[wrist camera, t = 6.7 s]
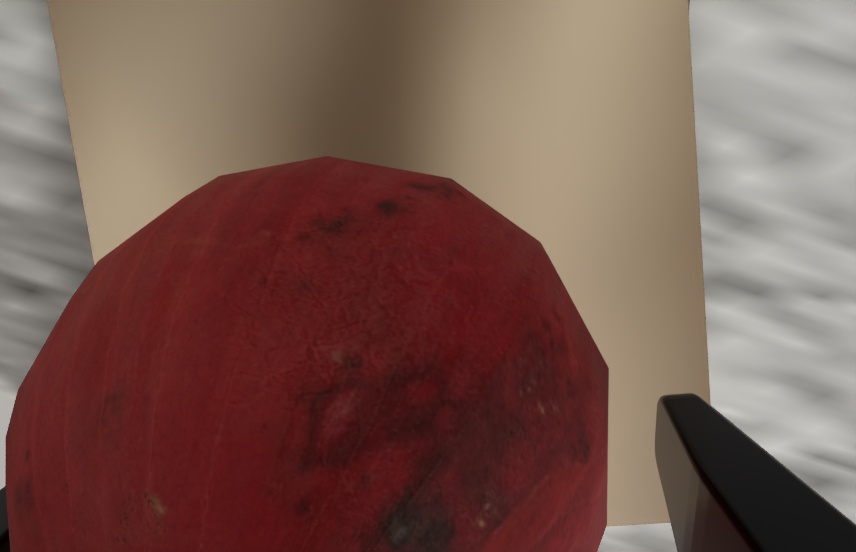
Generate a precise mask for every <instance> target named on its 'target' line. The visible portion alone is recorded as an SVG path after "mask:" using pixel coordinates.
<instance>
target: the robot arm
mask: <svg viewBox="0 0 856 552" xmlns="http://www.w3.org/2000/svg"><path fill="white" fill-rule="evenodd" d="M655 457H656V463H657V468H658V472H659V476H660V480H661V484H662V489H663V493H664V497H665V501H666V505H667V509H668V514H669V518H670V522H671V526H672V530H673V534H674V539H675V543H676V547H677V551H678V552H856V524H854V523H853V522H852V521H851V520H850V519H848V518H847V517H846V516H845V515H843V514H842V513H841V512H840V511H839V510H837V509H836V508H835V507H834V506H833V505H831V504H830V503H829V502H828V501H826V500H825V499H824V498H823V497H822V496H820V495H819V494H818V493H817V492H815V491H814V490H813V489H812V488H811V487H809V486H808V485H807V484H806V483H804V482H803V481H802V480H801V479H800V478H798V477H797V476H796V475H795V474H794V473H792V472H791V471H790V470H789V469H787V468H786V467H785V466H784V465H783V464H781V463H780V462H779V461H778V460H776V459H775V458H774V457H773V456H772V455H770V454H769V453H768V452H767V451H766V450H764V449H763V448H762V447H761V446H759V445H758V444H757V443H756V442H755V441H753V440H752V439H751V438H750V437H748V436H747V435H746V434H745V433H744V432H742V431H741V430H740V429H739V428H737V427H736V426H735V425H734V424H733V423H731V422H730V421H729V420H728V419H727V418H725V417H724V416H723V415H722V414H720V413H719V412H718V411H717V410H716V409H714V408H713V407H712V406H711V405H709V404H708V403H707V402H706V401H705V400H703V399H702V398H701V397H700V396H698V395H696V394H693V393H684V394H671V395H663V396H661V397H660V398H659V400H658V403H657V412H656V429H655ZM0 552H10V539H9V526H8V512H7V499H6V486H5V487H4V488H2V489H1V490H0Z"/></svg>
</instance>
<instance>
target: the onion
mask: <svg viewBox="0 0 856 552" xmlns="http://www.w3.org/2000/svg"><path fill="white" fill-rule="evenodd" d="M608 398H609V368H608V366H607V364H606V362H605V360H604V358H603V357H602V355H601V353H600V351H599V349H598V347H597V345H596V344H595V342H594V340H593V338H592V336H591V334H590V332H589V331H588V329H587V327H586V325H585V323H584V321H583V319H582V317H581V316H580V314H579V312H578V310H577V308H576V306H575V304H574V303H573V301H572V299H571V297H570V295H569V293H568V291H567V290H566V288H565V286H564V284H563V282H562V280H561V278H560V277H559V275H558V273H557V271H556V269H555V267H554V265H553V264H552V262H551V260H550V258H549V256H548V254H547V253H546V251H545V249H544V247H543V246H542V244H541V242H540V241H538V240H537V239H535V238H534V237H533V236H531V235H530V234H528V233H527V232H526V231H524V230H523V229H521V228H520V227H519V226H517V225H516V224H514V223H513V222H512V221H510V220H509V219H507V218H506V217H505V216H503V215H502V214H500V213H499V212H498V211H496V210H495V209H493V208H492V207H491V206H489V205H488V204H486V203H485V202H484V201H482V200H481V199H479V198H478V197H477V196H475V195H474V194H472V193H471V192H470V191H468V190H467V189H465V188H464V187H463V186H461V185H460V184H458V183H457V182H456V181H454V180H453V179H451V178H446V177H441V176H435V175H430V174H424V173H419V172H413V171H408V170H402V169H396V168H391V167H385V166H380V165H374V164H369V163H363V162H358V161H352V160H346V159H341V158H335V157H330V156H324V157H318V158H313V159H308V160H302V161H297V162H291V163H286V164H280V165H275V166H270V167H264V168H259V169H253V170H248V171H242V172H237V173H232V174H226V175H221V176H218V177H216V178H215V179H213V180H212V181H210V182H208V183H207V184H205V185H203V186H202V187H200V188H198V189H197V190H195V191H193V192H192V193H190V194H188V195H187V196H185V197H183V198H182V199H181V200H179V201H178V202H177V203H175V204H174V205H173V206H171V207H170V208H169V209H167V210H166V211H165V212H163V213H162V214H161V215H159V216H158V217H157V218H155V219H154V220H152V221H151V222H150V223H148V224H147V225H146V226H144V227H143V228H142V229H140V230H139V231H138V232H136V233H135V234H134V235H132V236H131V237H130V238H128V239H127V240H126V241H124V242H123V243H122V244H120V245H119V246H118V247H116V248H115V249H114V250H112V251H111V252H109V253H108V254H107V255H105V256H104V257H103V258H101V259H100V260H99V261H98V262H97V263H96V265H95V266H94V267H93V269H92V270H91V271H90V273H89V274H88V276H87V277H86V278H85V280H84V281H83V283H82V284H81V285H80V287H79V288H78V290H77V291H76V292H75V294H74V295H73V297H72V298H71V299H70V301H69V303H68V304H67V306H66V308H65V309H64V311H63V313H62V315H61V316H60V318H59V320H58V322H57V323H56V325H55V327H54V329H53V330H52V332H51V334H50V336H49V337H48V339H47V341H46V343H45V344H44V346H43V348H42V349H41V351H40V353H39V355H38V356H37V358H36V360H35V362H34V363H33V365H32V367H31V369H30V370H29V372H28V374H27V376H26V377H25V379H24V381H23V382H22V384H21V386H20V388H19V389H18V392H17V396H16V400H15V404H14V408H13V412H12V416H11V419H10V424H9V427H8V431H7V435H6V499H7V512H8V526H9V539H10V552H597V550H598V548H599V545H600V542H601V539H602V536H603V534H604V531H605V528H606V525H607V485H608Z"/></svg>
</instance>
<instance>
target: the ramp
mask: <svg viewBox="0 0 856 552" xmlns="http://www.w3.org/2000/svg"><path fill="white" fill-rule="evenodd" d="M47 3H48V8H49V14H50V20H51V25H52V31H53V36H54V42H55V47H56V53H57V59H58V64H59V70H60V75H61V81H62V87H63V92H64V98H65V103H66V109H67V114H68V120H69V126H70V131H71V137H72V142H73V148H74V154H75V159H76V165H77V170H78V176H79V181H80V187H81V193H82V198H83V204H84V209H85V215H86V221H87V226H88V232H89V237H90V243H91V249H92V254H93V260H94V265H96V263H97V262H98V261H99V260H100V259H101V258H103V257H104V256H105V255H107V254H108V253H109V252H111V251H112V250H114V249H115V248H116V247H118V246H119V245H120V244H122V243H123V242H124V241H126V240H127V239H128V238H130V237H131V236H132V235H134V234H135V233H136V232H138V231H139V230H140V229H142V228H143V227H144V226H146V225H147V224H148V223H150V222H151V221H152V220H154V219H155V218H157V217H158V216H159V215H161V214H162V213H163V212H165V211H166V210H167V209H169V208H170V207H171V206H173V205H174V204H175V203H177V202H178V201H179V200H181V199H182V198H183V197H185V196H187V195H188V194H190V193H192V192H193V191H195V190H197V189H198V188H200V187H202V186H203V185H205V184H207V183H208V182H210V181H212V180H213V179H215V178H216V177H218V176H221V175H226V174H232V173H237V172H242V171H248V170H253V169H259V168H264V167H270V166H275V165H280V164H286V163H291V162H297V161H302V160H308V159H313V158H318V157H324V156H330V157H335V158H341V159H346V160H352V161H358V162H363V163H369V164H374V165H380V166H385V167H391V168H396V169H402V170H408V171H413V172H419V173H424V174H430V175H435V176H441V177H446V178H451V179H453V180H454V181H456V182H457V183H458V184H460V185H461V186H463V187H464V188H465V189H467V190H468V191H470V192H471V193H472V194H474V195H475V196H477V197H478V198H479V199H481V200H482V201H484V202H485V203H486V204H488V205H489V206H491V207H492V208H493V209H495V210H496V211H498V212H499V213H500V214H502V215H503V216H505V217H506V218H507V219H509V220H510V221H512V222H513V223H514V224H516V225H517V226H519V227H520V228H521V229H523V230H524V231H526V232H527V233H528V234H530V235H531V236H533V237H534V238H535V239H537V240H538V241H540V242H541V244H542V246H543V247H544V249H545V251H546V253H547V254H548V256H549V258H550V260H551V262H552V264H553V265H554V267H555V269H556V271H557V273H558V275H559V277H560V278H561V280H562V282H563V284H564V286H565V288H566V290H567V291H568V293H569V295H570V297H571V299H572V301H573V303H574V304H575V306H576V308H577V310H578V312H579V314H580V316H581V317H582V319H583V321H584V323H585V325H586V327H587V329H588V331H589V332H590V334H591V336H592V338H593V340H594V342H595V344H596V345H597V347H598V349H599V351H600V353H601V355H602V357H603V358H604V360H605V362H606V364H607V366H608V368H609V398H608V485H607V525H606V526H622V525H638V524H655V523H671V522H670V518H669V514H668V509H667V505H666V501H665V497H664V493H663V489H662V484H661V480H660V476H659V472H658V468H657V463H656V457H655V429H656V412H657V403H658V400H659V398H660V397H661V396H663V395H671V394H684V393H693V394H696V395H698V396H700V397H701V398H702V399H703V400H705V401H706V402H707V403H708V404H709V405H710V387H709V369H708V351H707V333H706V316H705V298H704V280H703V262H702V244H701V226H700V208H699V191H698V173H697V155H696V137H695V119H694V101H693V83H692V66H691V48H690V30H689V12H688V0H47Z"/></svg>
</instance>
